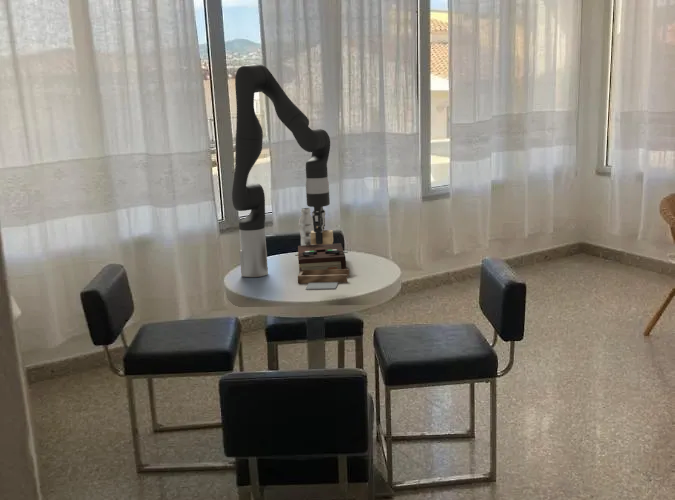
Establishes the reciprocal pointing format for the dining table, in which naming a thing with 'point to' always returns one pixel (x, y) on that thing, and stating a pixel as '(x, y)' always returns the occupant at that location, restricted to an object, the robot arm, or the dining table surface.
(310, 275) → the shelf bay
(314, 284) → the rubber pad
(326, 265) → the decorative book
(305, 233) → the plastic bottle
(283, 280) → the dining table surface
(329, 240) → the block
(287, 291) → the dining table surface
